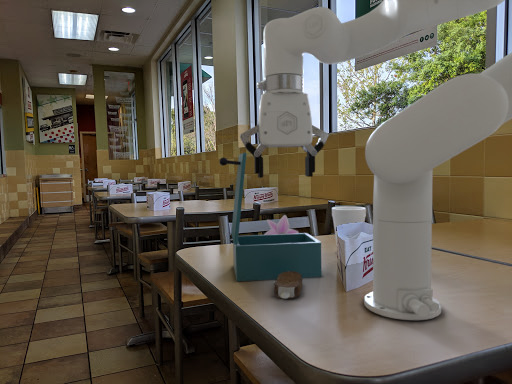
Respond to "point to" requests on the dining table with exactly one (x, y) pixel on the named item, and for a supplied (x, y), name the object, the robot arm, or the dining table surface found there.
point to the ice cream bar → (288, 285)
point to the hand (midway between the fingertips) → (284, 177)
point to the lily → (280, 227)
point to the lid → (237, 193)
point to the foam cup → (347, 215)
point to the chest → (276, 256)
